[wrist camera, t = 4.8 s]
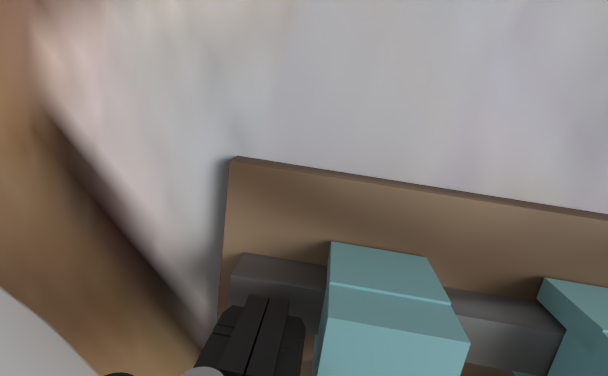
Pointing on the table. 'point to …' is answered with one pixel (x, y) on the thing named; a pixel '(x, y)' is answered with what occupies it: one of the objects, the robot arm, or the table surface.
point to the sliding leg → (386, 317)
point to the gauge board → (410, 252)
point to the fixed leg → (577, 327)
